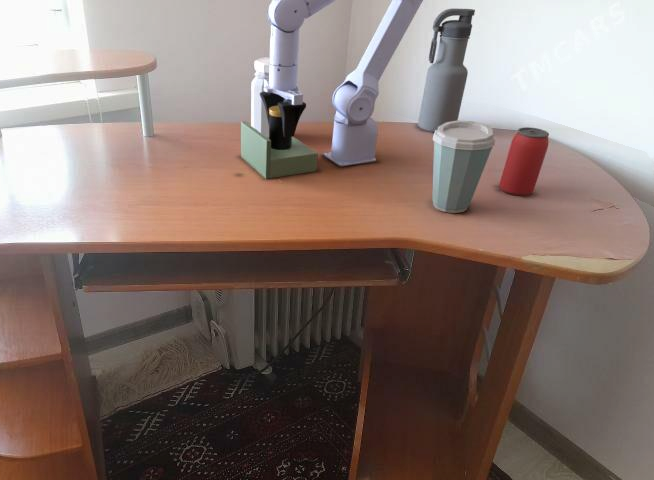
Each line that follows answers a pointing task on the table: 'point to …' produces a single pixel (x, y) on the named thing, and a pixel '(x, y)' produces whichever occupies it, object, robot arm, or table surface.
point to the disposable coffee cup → (459, 163)
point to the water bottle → (446, 70)
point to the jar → (257, 105)
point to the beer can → (524, 161)
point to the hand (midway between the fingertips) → (281, 131)
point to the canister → (277, 130)
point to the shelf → (275, 155)
